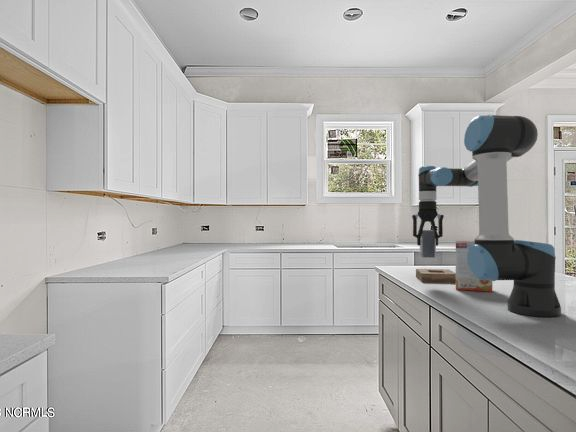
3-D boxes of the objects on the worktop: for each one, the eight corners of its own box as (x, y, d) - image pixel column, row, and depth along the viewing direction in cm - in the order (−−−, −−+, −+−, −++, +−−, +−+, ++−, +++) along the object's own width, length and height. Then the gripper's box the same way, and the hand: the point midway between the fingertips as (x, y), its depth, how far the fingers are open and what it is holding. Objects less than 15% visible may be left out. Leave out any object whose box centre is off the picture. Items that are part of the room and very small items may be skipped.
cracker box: (491, 289, 170) (491, 240, 170) (492, 292, 165) (492, 241, 164) (455, 287, 176) (455, 239, 175) (455, 289, 170) (455, 240, 170)
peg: (434, 257, 178) (434, 230, 178) (422, 257, 179) (422, 230, 179) (432, 256, 183) (432, 229, 183) (420, 256, 184) (420, 229, 184)
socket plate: (457, 283, 186) (457, 274, 186) (421, 282, 188) (421, 273, 188) (448, 277, 202) (448, 269, 202) (415, 276, 204) (415, 268, 204)
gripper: (446, 201, 183) (446, 252, 183) (405, 201, 186) (405, 252, 186) (450, 200, 176) (450, 253, 176) (408, 200, 179) (408, 253, 178)
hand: (427, 252), depth 181 cm, fingers closed on peg, 5 cm apart
